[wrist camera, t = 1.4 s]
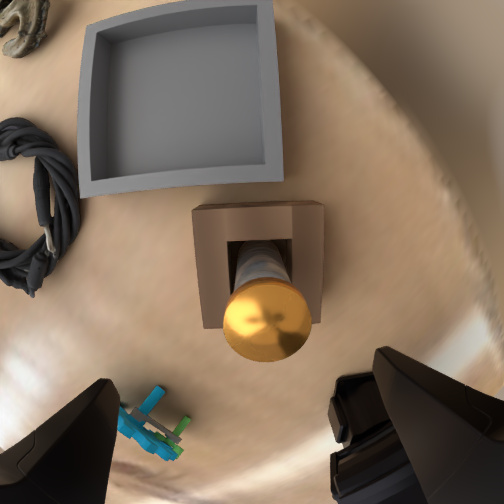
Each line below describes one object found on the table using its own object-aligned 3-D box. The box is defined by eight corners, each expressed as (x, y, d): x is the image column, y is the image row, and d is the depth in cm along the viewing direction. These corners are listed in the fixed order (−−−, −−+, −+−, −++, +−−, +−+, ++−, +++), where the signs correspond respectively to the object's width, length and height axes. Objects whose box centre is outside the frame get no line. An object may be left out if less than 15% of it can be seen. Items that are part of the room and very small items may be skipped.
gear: (76, 385, 23) (94, 426, 15) (110, 345, 26) (141, 369, 19) (151, 440, 27) (195, 483, 19) (179, 405, 30) (231, 436, 23)
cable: (-37, 202, 19) (-62, 209, 15) (9, 89, 17) (-19, 82, 13) (47, 303, 23) (22, 323, 18) (111, 181, 20) (82, 184, 16)
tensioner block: (313, 200, 20) (323, 205, 17) (311, 304, 22) (320, 323, 19) (199, 205, 20) (191, 210, 17) (208, 309, 22) (203, 328, 19)
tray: (268, 18, 16) (271, -6, 13) (277, 180, 20) (283, 181, 16) (105, 41, 16) (86, 25, 13) (103, 193, 20) (80, 198, 16)
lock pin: (283, 232, 21) (313, 283, 11) (283, 279, 22) (309, 358, 12) (232, 234, 21) (219, 287, 11) (235, 281, 22) (226, 363, 12)
